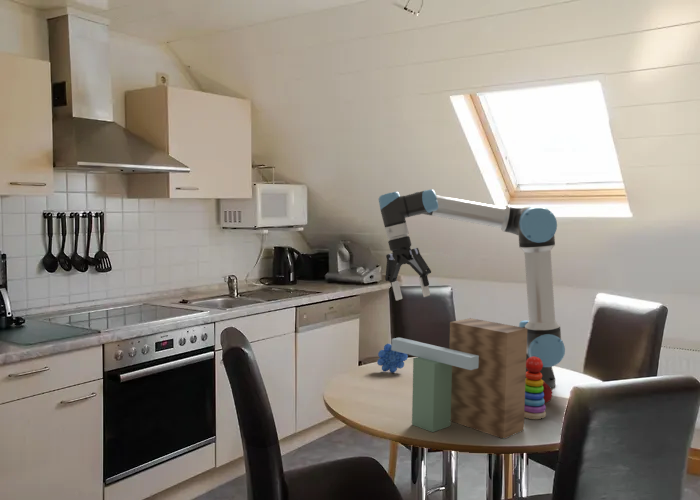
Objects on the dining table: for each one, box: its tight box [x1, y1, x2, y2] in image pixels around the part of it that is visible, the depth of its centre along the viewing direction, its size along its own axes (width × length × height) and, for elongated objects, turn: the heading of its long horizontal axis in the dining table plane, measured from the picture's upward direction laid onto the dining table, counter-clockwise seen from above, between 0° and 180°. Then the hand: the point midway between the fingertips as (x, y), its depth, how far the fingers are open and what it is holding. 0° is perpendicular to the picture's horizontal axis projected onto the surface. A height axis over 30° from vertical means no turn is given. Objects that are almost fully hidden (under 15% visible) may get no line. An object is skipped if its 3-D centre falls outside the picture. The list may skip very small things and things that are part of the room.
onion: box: [542, 381, 553, 404], centre depth 210 cm, size 6×6×8 cm
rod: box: [391, 336, 479, 370], centre depth 188 cm, size 30×4×4 cm, turn 43°
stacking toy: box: [524, 356, 547, 420], centre depth 198 cm, size 8×8×19 cm
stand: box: [448, 317, 527, 439], centre depth 189 cm, size 20×10×30 cm, turn 43°
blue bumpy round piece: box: [376, 343, 409, 374], centre depth 247 cm, size 12×7×12 cm, turn 81°
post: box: [411, 356, 452, 433], centre depth 189 cm, size 8×8×20 cm
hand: (412, 298), depth 220 cm, fingers open, 13 cm apart
